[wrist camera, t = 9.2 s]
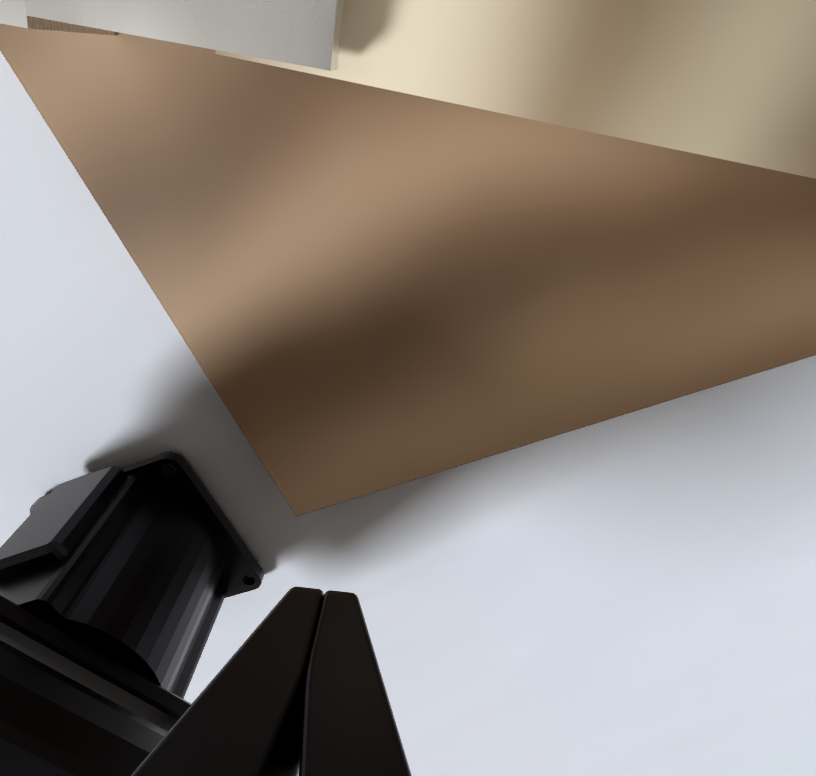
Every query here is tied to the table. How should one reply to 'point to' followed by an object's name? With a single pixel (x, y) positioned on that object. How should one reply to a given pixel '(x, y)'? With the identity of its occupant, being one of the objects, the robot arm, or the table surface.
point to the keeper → (200, 24)
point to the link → (604, 67)
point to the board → (418, 257)
